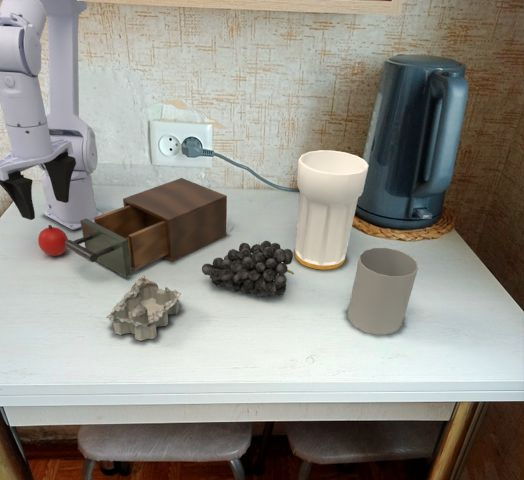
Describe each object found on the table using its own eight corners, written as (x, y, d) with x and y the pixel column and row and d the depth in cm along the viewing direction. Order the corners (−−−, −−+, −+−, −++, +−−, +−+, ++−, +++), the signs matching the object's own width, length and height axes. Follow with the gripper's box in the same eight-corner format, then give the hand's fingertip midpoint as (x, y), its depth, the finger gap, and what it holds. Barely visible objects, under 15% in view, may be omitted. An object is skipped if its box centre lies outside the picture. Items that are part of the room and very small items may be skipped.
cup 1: (335, 240, 99) (350, 148, 88) (361, 269, 90) (381, 172, 79) (280, 245, 96) (288, 151, 85) (302, 276, 87) (314, 176, 76)
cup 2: (389, 341, 75) (405, 283, 68) (339, 321, 78) (349, 264, 71) (409, 314, 80) (425, 258, 74) (361, 297, 83) (373, 242, 77)
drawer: (102, 289, 80) (96, 252, 75) (62, 265, 84) (54, 229, 80) (185, 249, 91) (184, 215, 87) (146, 230, 96) (142, 197, 91)
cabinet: (171, 262, 89) (169, 219, 83) (127, 240, 94) (122, 198, 89) (226, 235, 97) (227, 195, 92) (183, 216, 103) (181, 177, 98)
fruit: (196, 238, 77) (295, 248, 75) (209, 231, 84) (299, 240, 83) (194, 294, 80) (289, 305, 78) (207, 282, 87) (294, 292, 86)
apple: (35, 253, 88) (28, 224, 85) (60, 244, 91) (53, 216, 88) (52, 263, 86) (45, 234, 83) (76, 253, 89) (70, 225, 86)
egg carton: (146, 295, 80) (144, 272, 78) (187, 308, 78) (186, 285, 76) (103, 331, 73) (99, 307, 70) (148, 346, 71) (145, 323, 68)
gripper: (41, 106, 81) (58, 189, 90) (-36, 128, 71) (-8, 219, 79) (76, 114, 79) (90, 198, 88) (2, 138, 69) (26, 230, 77)
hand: (46, 209), depth 83 cm, fingers open, 7 cm apart
